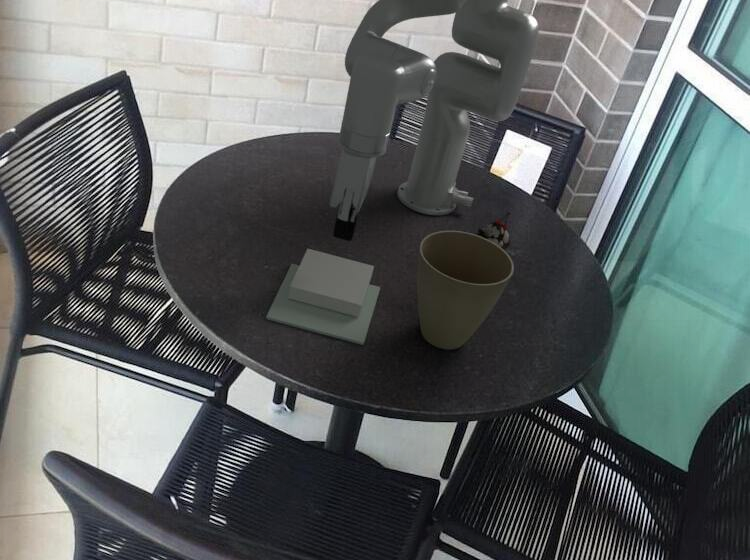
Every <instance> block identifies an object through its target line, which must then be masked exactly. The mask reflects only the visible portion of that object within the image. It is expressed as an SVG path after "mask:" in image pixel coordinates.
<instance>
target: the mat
mask: <svg viewBox="0 0 750 560" xmlns="http://www.w3.org/2000/svg"><path fill="white" fill-rule="evenodd" d="M299 266H300V265H298V264H295V263H291V264H290V267H289V269H288V271H287V273H286V275H285V277H284V279H283V281H282V283H281V284H280V287H279V289H278V291H277V294H276V296H275V297H274V299H273V302H272V304H271V306H270V308H269V310H268V312H267V314H266V316H265V319H266V320H268V321H272V322H276V323H280V324H283V325H287V326H290V327H295V328H298V329H302V330H306V331H309V332H312V333H316V334H321V335H324V336H329V337H331V338H334V339H335V338H336V339H339V340H343V341H346V342H349V343H354V344H357V345H361V346H364V345H365V340H366V337H367V335H368V331H369V329H370V328H369V327H370V323H371V321H372V317H373V315H374V311H375V307H376V304H377V300H378V297H379V294H380V290H381V286H377V285H374V284H369V287H368V290H367V293H366V296H365V299H364V302H363V305H362V309H361V312H360V315H359V317H356V316H352V315H348V314H345V313H341V312H337V311H333V310H330V309H326V308H322V307H319V306H315V305H311V304H307V303H304V302H300V301H296V300H293V299H289V298H288V295H289V290H290V285H291V283H292V281H293V279H294V277H295V275H296V272H297V270H298V268H299Z"/></svg>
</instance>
